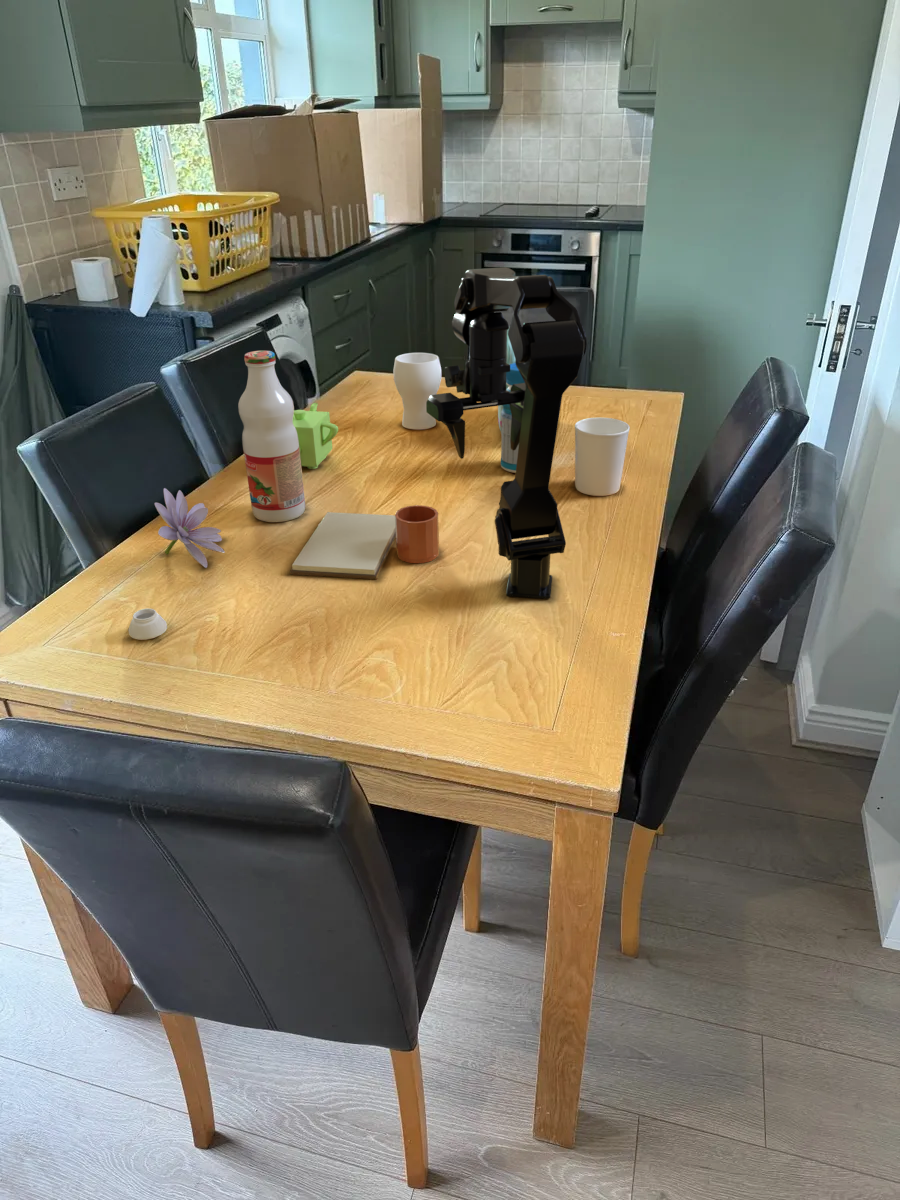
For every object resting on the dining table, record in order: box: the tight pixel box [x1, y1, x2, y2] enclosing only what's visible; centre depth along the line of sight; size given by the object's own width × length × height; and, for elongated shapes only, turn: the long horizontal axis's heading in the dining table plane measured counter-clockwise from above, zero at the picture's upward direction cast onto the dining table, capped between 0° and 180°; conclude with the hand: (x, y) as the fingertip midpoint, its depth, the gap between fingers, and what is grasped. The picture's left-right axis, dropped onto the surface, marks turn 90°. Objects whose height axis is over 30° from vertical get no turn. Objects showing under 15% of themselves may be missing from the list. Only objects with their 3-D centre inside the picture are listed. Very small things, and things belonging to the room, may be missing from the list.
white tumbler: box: [574, 416, 631, 497], centre depth 155 cm, size 10×10×12 cm
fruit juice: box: [237, 350, 306, 523], centre depth 143 cm, size 9×9×28 cm
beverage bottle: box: [500, 363, 525, 474], centre depth 163 cm, size 8×8×20 cm
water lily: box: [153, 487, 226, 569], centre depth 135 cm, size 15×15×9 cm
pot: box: [394, 504, 440, 564], centre depth 134 cm, size 7×7×7 cm
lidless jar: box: [127, 607, 168, 641], centre depth 115 cm, size 5×3×5 cm
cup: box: [392, 352, 442, 430], centre depth 188 cm, size 11×11×15 cm
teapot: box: [293, 402, 339, 470], centre depth 169 cm, size 15×13×11 cm
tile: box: [289, 511, 396, 580], centre depth 137 cm, size 21×14×2 cm, turn 171°
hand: (487, 453), depth 136 cm, fingers open, 9 cm apart
